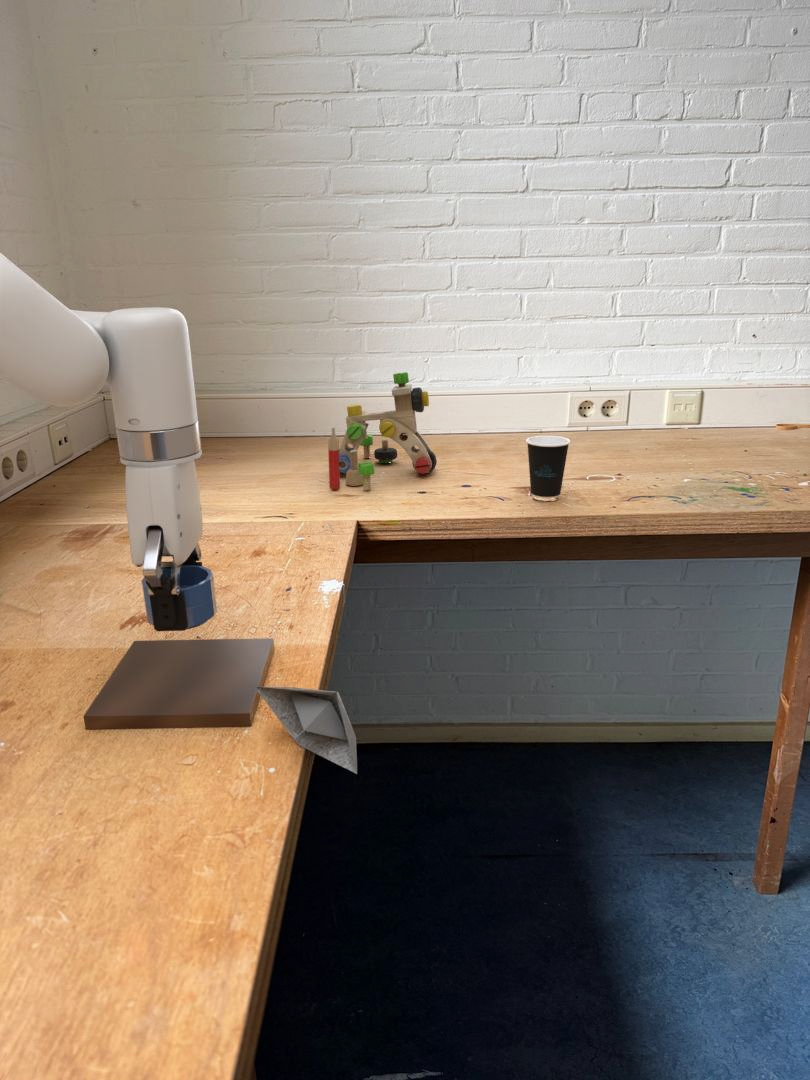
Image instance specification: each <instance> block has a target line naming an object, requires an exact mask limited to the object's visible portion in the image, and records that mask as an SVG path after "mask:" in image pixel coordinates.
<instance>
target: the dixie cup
mask: <svg viewBox="0 0 810 1080" xmlns="http://www.w3.org/2000/svg"><path fill="white" fill-rule="evenodd" d="M525 442H526V443H527V457H528V472H529V485H530V494H531V496H534V497H536V498H542V499H550V498H556V497H558V496H559V497H560V495H561V492H562V486H563V480H564V473H565V470H566V462H567V456H568V451H569V445H570V444H571V440H570V439H569V438H567V437H563V436H558V435H535V436H530V437H528V438H526V441H525Z"/></svg>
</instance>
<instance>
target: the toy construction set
mask: <svg viewBox="0 0 810 1080" xmlns="http://www.w3.org/2000/svg"><path fill="white" fill-rule="evenodd" d="M392 377H393V384H394V387H392V389H391V396H392V397H393V401H394V409H395V410H386V411H385V410H384V411H377V412H369V413H363V407H362V405H361V404H352V405H348V406H347V407H346V411H347V416H346V417H345V423H346V430H345V433H344V436H343V439H342V441H341V444H340V439H339V438H338V436H337V434H336V426H332V427H331V436H330V437H329V439H328V440H327V443H328V447H327V449H328V450H327V451H328V479H329V480H328V481H329V482H328V483H329V489H330V490H333V491H334V490H339V489H340V488H341V478H340V477H341V476H340V475H341V474H340V473H342V474H345V484H346V485H347V486H350V487H357V486H358V487H359V486H362V490H364V491H370V490H371V489H372V487H371V482H372V481H371V476H373V475H374V474H375V464H374V462H372V461H362V462H358V461H359V458H358V457H359V456H358V453H359V452H358V450H359V448H360V446H361V447H362V448H363V449H362V450H363V458H364V459H365V458H369V457H370V458H371V446H372V445H374V436H373V435H372V434H368V432H367V429H368V427H369V425H370V423H368V422H369V421H379V426H378V427H379V428H378V429H379V433H380V434H381V437H384V438H382V439H381V447H379V448H376V449H375V450H374V451H373V453H374V454H373V455H374V456H373V457H374V459H375V460H378V463H379V462H381V463H385V464H387V463H389V462H392V461H393V462H394V460H396V459H397V458H398V450H397V449H396V448H394V447H389V439H391V440H392V441H394V442H395V443H397V444H398V445H399V446H400V447H401V448H402V449H403V450H404V451H405V453H406V454H407V455H408V457H409V458H410V460H411V462H412V467H413V469H414V470H415V471H416V472H417V473H419V474H422V475H423V474H424V475H426V474H425V473H427V472H430V473H432V472H433V471H434V470H435V468H436V466H437V463H438V460H437V456H436V454H435V453H434V452H433V451H432V449H431V447H430V445H429V443H428V442H427V441H426V439H425V438H424V437H423V435H422V434H421V433H420V432H419V431H418V428H417V418H416V413H423V412H424V411H425V407H429V406H430V399H429V398H430V397H429V393H428V391H427V390H425V391H423V389H422V388H421V387H413V385H412V383H409V382H410V380H409V379H410V378H409V373H408V372H407V371H403V372H396V373H393V375H392ZM387 438H389V439H387ZM348 444H350V445H352V447H351V446H349V445H348ZM417 447H418V448H417ZM393 462H392V463H393ZM381 463H380V464H381ZM427 474H428V473H427Z"/></svg>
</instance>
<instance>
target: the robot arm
mask: <svg viewBox="0 0 810 1080" xmlns="http://www.w3.org/2000/svg"><path fill="white" fill-rule="evenodd" d="M0 377H2V378H3V379H5V380H6V381H7V382H8V383H10V384H12V386H14V387H16V388H17V389H18V390H20V391H22V392H23V393H24V394H25V395H27V396H29V397H30V398H32V399H34V400H35V401H37V402H41V403H43V404H45V405H49V406H53V407H57V408H59V407H60V408H68V407H69V408H70V407H76V406H79V405H82V404H85V403H87V402H88V401H90V400H92V399H93V398H94V397H96V395H98V394H99V393H100V391H101V390H102V389H103V388H104V386H105V385H106V386H108V388H109V390H110V391H109V392H110V396H111V402H112V411H113V418H114V422H115V424H114V425H115V432H116V439H117V445H118V452H119V453H118V455H119V460H120V463H121V464H122V465H124V466H125V477H124V478H125V481H124V483H125V484H124V485H125V505H126V507H125V509H126V520H127V531H128V541H129V550H130V556H131V557H130V559H131V563H132V564H133V566H134V567H135V568H142V575H143V578H144V577H145V579H146V584H147V585H148V594H149V596H150V603H151V610H152V617H153V624H154V626H153V629H154V631H156V632H185V631H186V629H187V627H188V621H187V612H186V604H185V596H184V591H180V565H197V566H203V561H202V551H201V547H200V544H199V542H200V541H201V539H202V536H203V532H204V526H203V525H204V523H203V511H202V502H201V494H200V487H199V481H198V474H197V466H196V463H195V461H196V460H198V459H200V458H201V457H202V456H203V451H202V443H201V433H200V425H199V424H200V423H199V417H198V406H197V397H196V389H195V388H196V387H195V379H194V369H193V360H192V351H191V341H190V332H189V327H188V322H187V320H186V317H185V315H184V314H183V313H182V312H180V311H179V310H178V309H174V308H170V307H163V306H162V307H161V306H160V307H159V306H158V307H152V306H151V307H130V308H121V309H115V310H112V311H88V310H87V311H86V310H78V309H77V310H76V309H70V308H68V307H67V306H66V305H64V303H62V302H61V301H60V300H59V299H57V297H55V296H54V295H52V294H51V293H50V292H49V291H48V290H46V289H45V288H44V287H43V286H41V285H40V284H39V283H38V282H37V281H35V280H34V279H33V278H32V277H31V276H29V275H28V274H27V273H25V272H24V271H23V270H22V269H21V268H19V267H18V266H17V265H16V264H15V263H13V262H12V261H11V260H10V259H9V258H7V257H6V255H4V254H3V253H2V252H0ZM164 557H165V558H167V557H171V558H172V560H171V561H162V560H163V558H164ZM162 569H171V580H170V578H169V577H168V576H167V574H162V572H163V571H162ZM187 630H188V629H187Z"/></svg>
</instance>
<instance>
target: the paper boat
mask: <svg viewBox="0 0 810 1080" xmlns="http://www.w3.org/2000/svg"><path fill="white" fill-rule="evenodd" d="M254 687H255V688H256V689H257V691H258V692H259V693H260V697H261V698H262V699H263V700H264V701H265V703H266V704H267V705H268V707H269V708H270V710H271V711H272V712H273V714H274V715H275V716H276V718H277V719H278V720H279V721H280V723H281V724H282V726H283V727H284V729H285V730H286V732H287V733H288V734H289V735H290V737H291V738H292V740H294V742H295V743H296V745H298V746H299V747H301V748H304V749H305V750H308V751H310V752H311V753H314V754H316V755H317V756H320V757H322V758H324V759H326V760H328V761H329V762H332V763H333V764H336V765H338V766H340V767H342V768H344V769H346V770H348V771H350V772H352V773H354V774H356V775H358V756H357V754H358V753H357V737H356V734H355V731H354V729H353V726H352V723H351V721H350V718H349V716H348V713H347V711H346V707H345V705H344V702H343V700H342V698H341V695H340V693H339V691H334V690H333V691H331V690H322V689H314V688H313V689H312V688H305V687H294V686H263V687H262V686H254Z"/></svg>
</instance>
